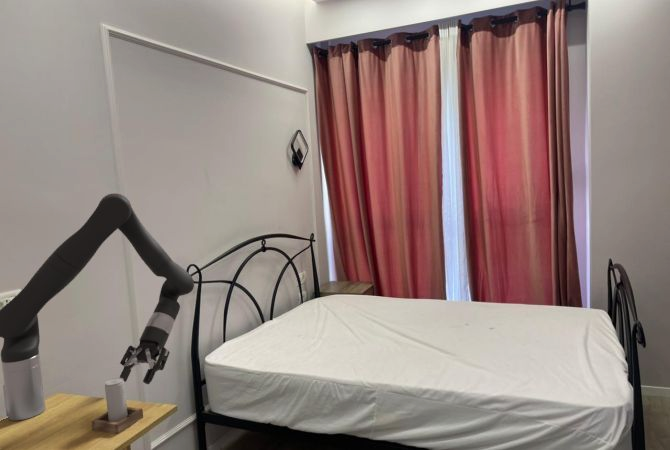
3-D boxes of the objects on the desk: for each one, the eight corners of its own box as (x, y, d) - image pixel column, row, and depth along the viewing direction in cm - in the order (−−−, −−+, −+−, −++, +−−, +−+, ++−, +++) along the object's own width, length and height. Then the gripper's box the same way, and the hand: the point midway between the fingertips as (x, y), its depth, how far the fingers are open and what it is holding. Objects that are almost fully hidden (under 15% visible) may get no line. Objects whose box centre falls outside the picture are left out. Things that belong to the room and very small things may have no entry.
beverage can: (120, 428, 125) (116, 385, 124) (105, 427, 126) (100, 384, 125) (132, 419, 130) (127, 377, 129) (116, 418, 131) (112, 377, 130)
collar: (92, 430, 125) (91, 420, 125) (118, 414, 134) (117, 405, 133) (119, 433, 122) (118, 424, 122) (143, 417, 130) (142, 408, 130)
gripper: (132, 324, 143) (106, 375, 133) (169, 325, 138) (146, 378, 128) (146, 335, 148) (122, 385, 139) (183, 337, 143) (161, 389, 134)
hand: (134, 382), depth 133 cm, fingers open, 8 cm apart
